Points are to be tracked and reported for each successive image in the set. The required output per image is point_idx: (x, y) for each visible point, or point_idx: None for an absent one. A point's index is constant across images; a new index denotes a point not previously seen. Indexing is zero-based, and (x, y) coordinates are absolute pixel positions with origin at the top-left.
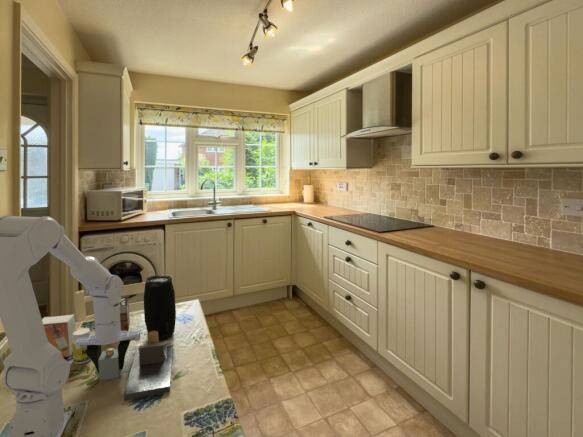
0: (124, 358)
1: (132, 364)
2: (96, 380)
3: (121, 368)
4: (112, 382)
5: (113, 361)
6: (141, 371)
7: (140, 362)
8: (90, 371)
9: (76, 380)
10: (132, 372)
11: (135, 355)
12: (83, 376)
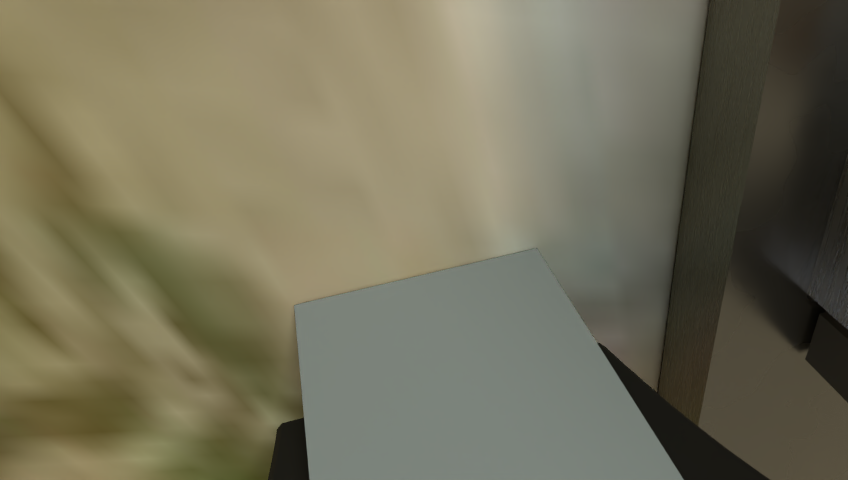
0: (672, 416)
1: (717, 334)
2: None
3: None
4: None
5: None
6: (803, 436)
7: (844, 386)
8: (69, 310)
9: (17, 471)
10: None
11: (771, 99)
12: (51, 407)
